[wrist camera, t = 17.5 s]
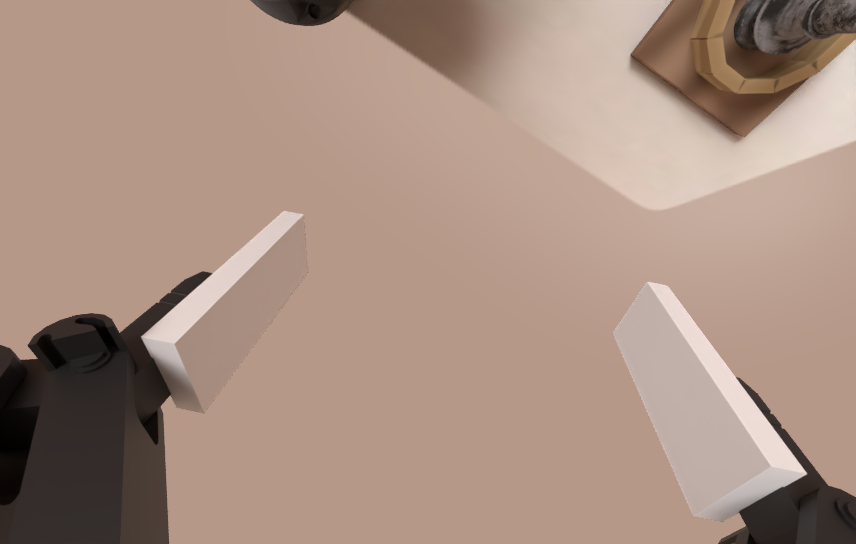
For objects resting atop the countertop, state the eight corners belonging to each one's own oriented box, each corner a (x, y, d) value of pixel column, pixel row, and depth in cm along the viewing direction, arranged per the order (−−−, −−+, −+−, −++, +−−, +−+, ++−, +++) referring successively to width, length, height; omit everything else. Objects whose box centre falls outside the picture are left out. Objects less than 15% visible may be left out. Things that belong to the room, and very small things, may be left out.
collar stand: (630, 54, 36) (646, 56, 33) (788, -151, 27) (836, -180, 24) (736, 133, 39) (762, 143, 35) (910, -30, 30) (969, -39, 27)
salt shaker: (798, 40, 33) (934, 41, 23) (726, 62, 34) (823, 72, 25) (814, -37, 30) (977, -74, 20) (734, -8, 31) (849, -29, 22)
